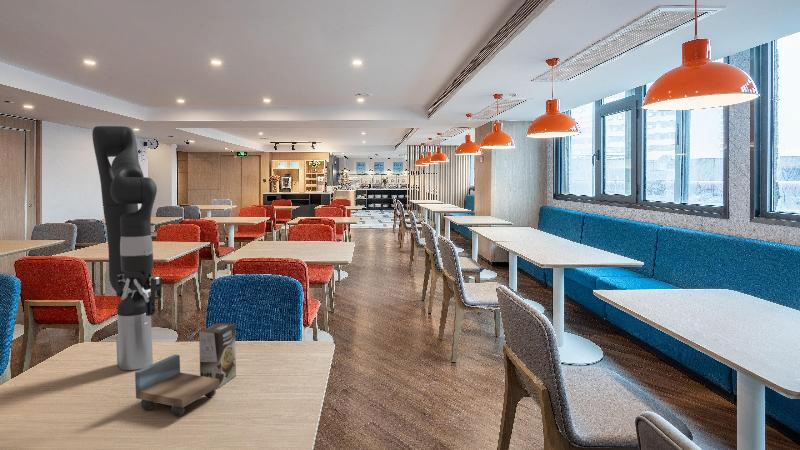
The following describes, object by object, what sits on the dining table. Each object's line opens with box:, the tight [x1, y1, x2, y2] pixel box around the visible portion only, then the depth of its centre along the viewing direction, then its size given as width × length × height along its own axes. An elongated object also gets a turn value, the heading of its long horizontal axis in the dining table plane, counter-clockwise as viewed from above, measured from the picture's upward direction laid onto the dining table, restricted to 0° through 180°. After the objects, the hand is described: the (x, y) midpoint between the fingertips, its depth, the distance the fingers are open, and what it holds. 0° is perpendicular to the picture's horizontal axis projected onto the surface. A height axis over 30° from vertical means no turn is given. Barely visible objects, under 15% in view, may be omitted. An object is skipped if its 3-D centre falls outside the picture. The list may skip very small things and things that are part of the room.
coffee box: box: [198, 322, 237, 389], centre depth 135 cm, size 9×6×16 cm
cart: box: [134, 354, 220, 418], centre depth 121 cm, size 15×13×10 cm
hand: (139, 313), depth 124 cm, fingers open, 7 cm apart
